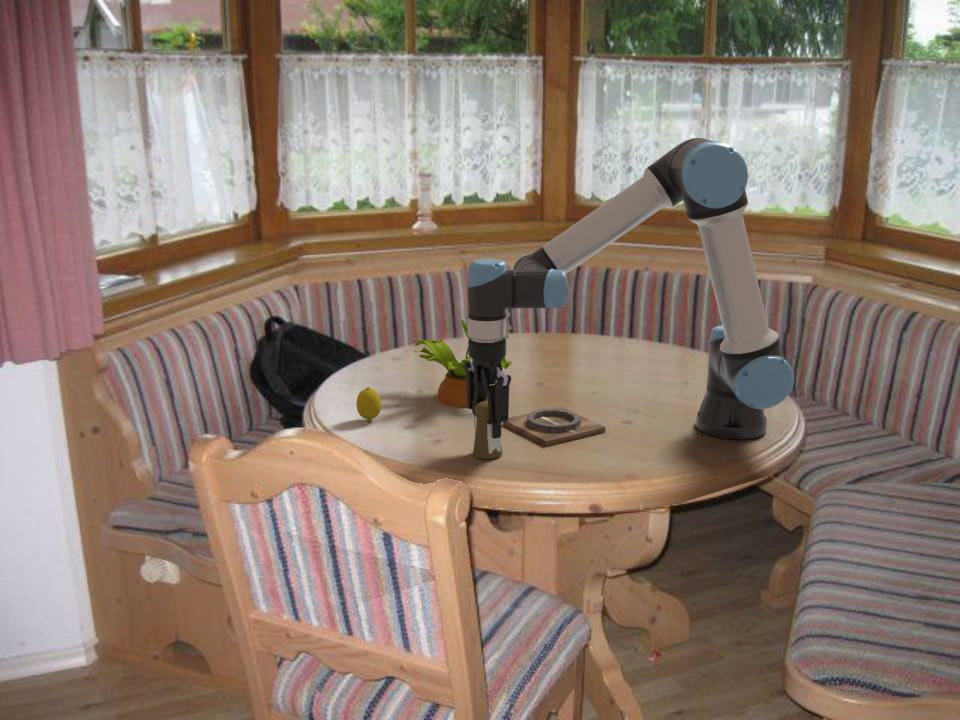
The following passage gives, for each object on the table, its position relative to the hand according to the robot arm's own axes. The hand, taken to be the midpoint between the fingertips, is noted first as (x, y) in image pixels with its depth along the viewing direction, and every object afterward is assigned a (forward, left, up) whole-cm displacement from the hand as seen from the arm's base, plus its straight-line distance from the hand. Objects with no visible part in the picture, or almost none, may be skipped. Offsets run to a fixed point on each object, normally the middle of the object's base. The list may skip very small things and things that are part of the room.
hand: (487, 448), depth 200 cm
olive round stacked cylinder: (0, 0, -1) cm, 1 cm away
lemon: (+31, +11, -2) cm, 33 cm away
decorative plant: (+34, -14, -2) cm, 37 cm away
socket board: (+5, -21, -1) cm, 21 cm away
